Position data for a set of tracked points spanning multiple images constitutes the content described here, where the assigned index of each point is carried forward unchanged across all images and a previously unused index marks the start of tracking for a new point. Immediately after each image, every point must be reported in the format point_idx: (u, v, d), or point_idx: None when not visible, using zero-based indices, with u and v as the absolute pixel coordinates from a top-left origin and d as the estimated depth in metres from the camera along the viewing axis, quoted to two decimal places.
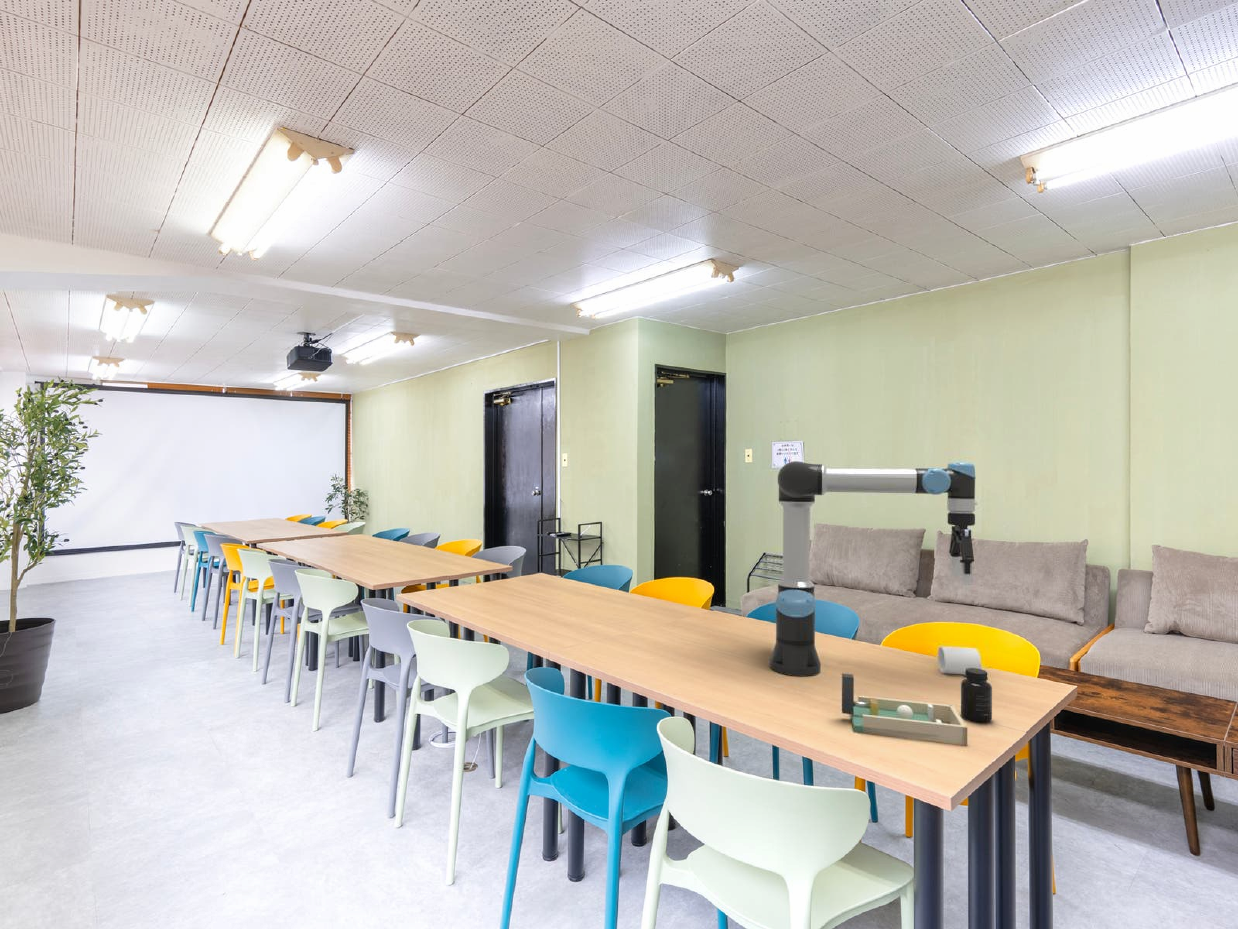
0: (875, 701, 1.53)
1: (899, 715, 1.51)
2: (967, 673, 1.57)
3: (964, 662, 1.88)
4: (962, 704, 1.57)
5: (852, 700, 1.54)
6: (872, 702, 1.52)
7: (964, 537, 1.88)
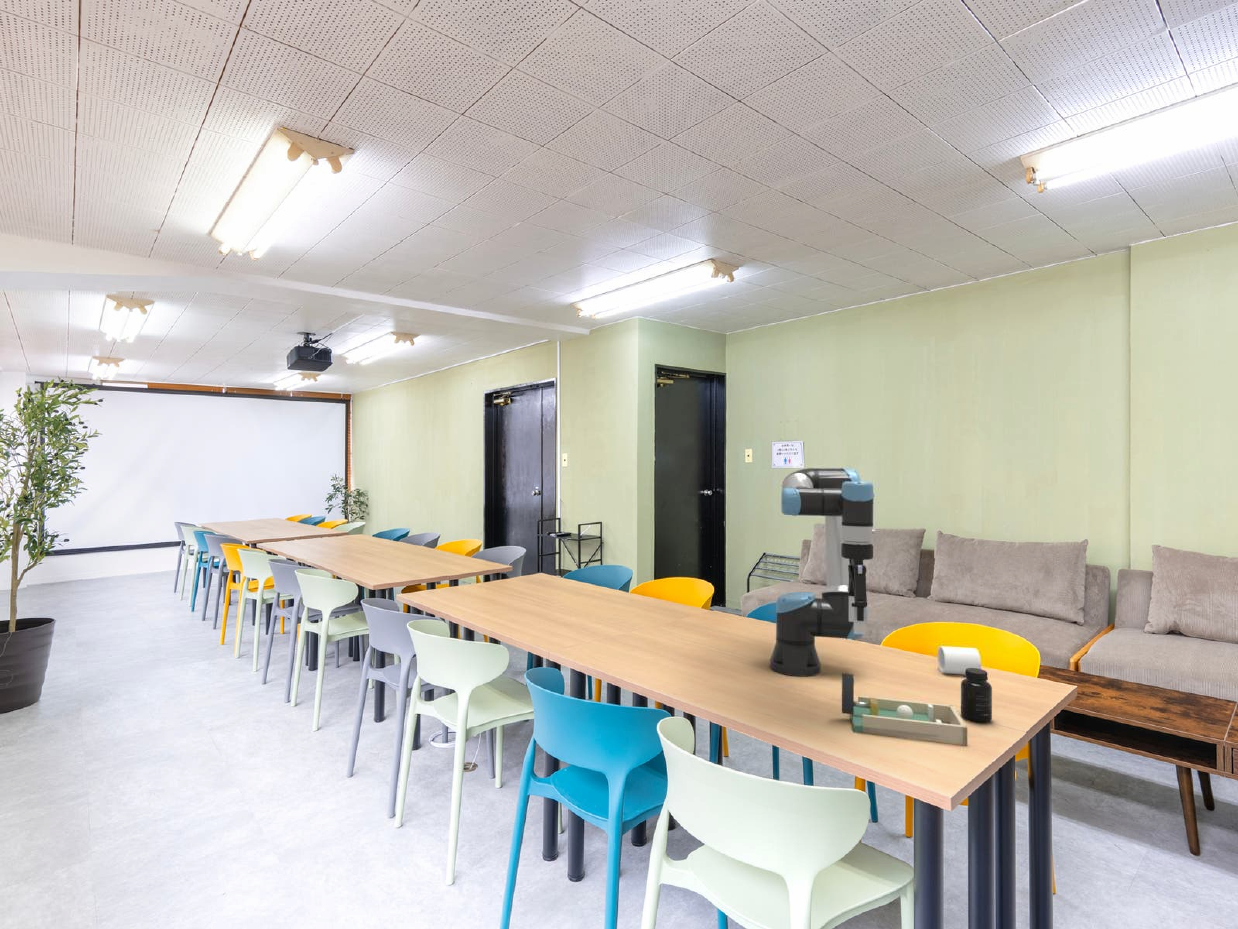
0: (875, 701, 1.53)
1: (899, 715, 1.51)
2: (967, 673, 1.57)
3: (964, 662, 1.88)
4: (962, 704, 1.57)
5: (852, 700, 1.54)
6: (872, 702, 1.52)
7: (857, 575, 1.51)
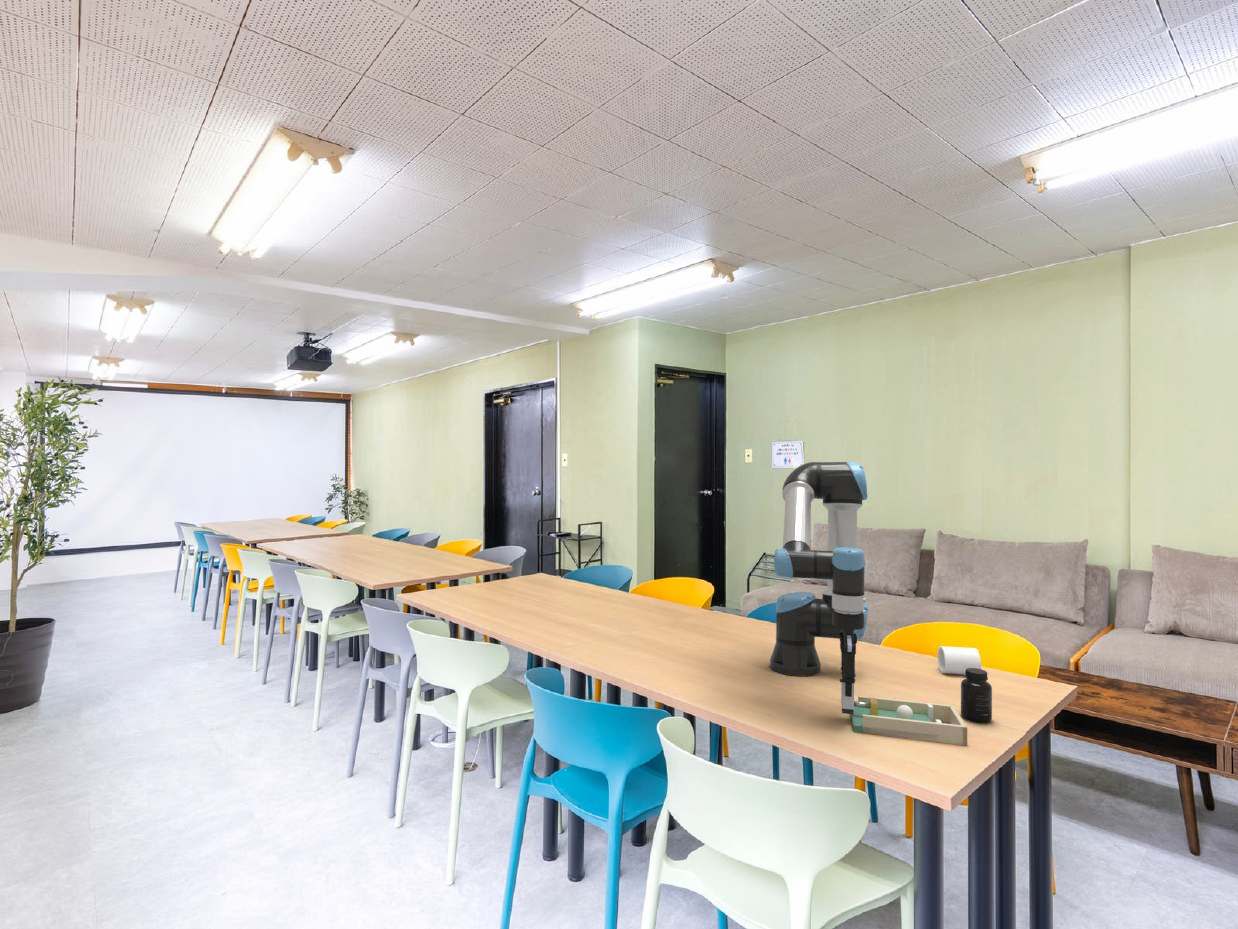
0: (875, 701, 1.53)
1: (899, 715, 1.51)
2: (967, 673, 1.57)
3: (964, 662, 1.88)
4: (962, 704, 1.57)
5: None
6: (872, 702, 1.52)
7: (846, 653, 1.50)
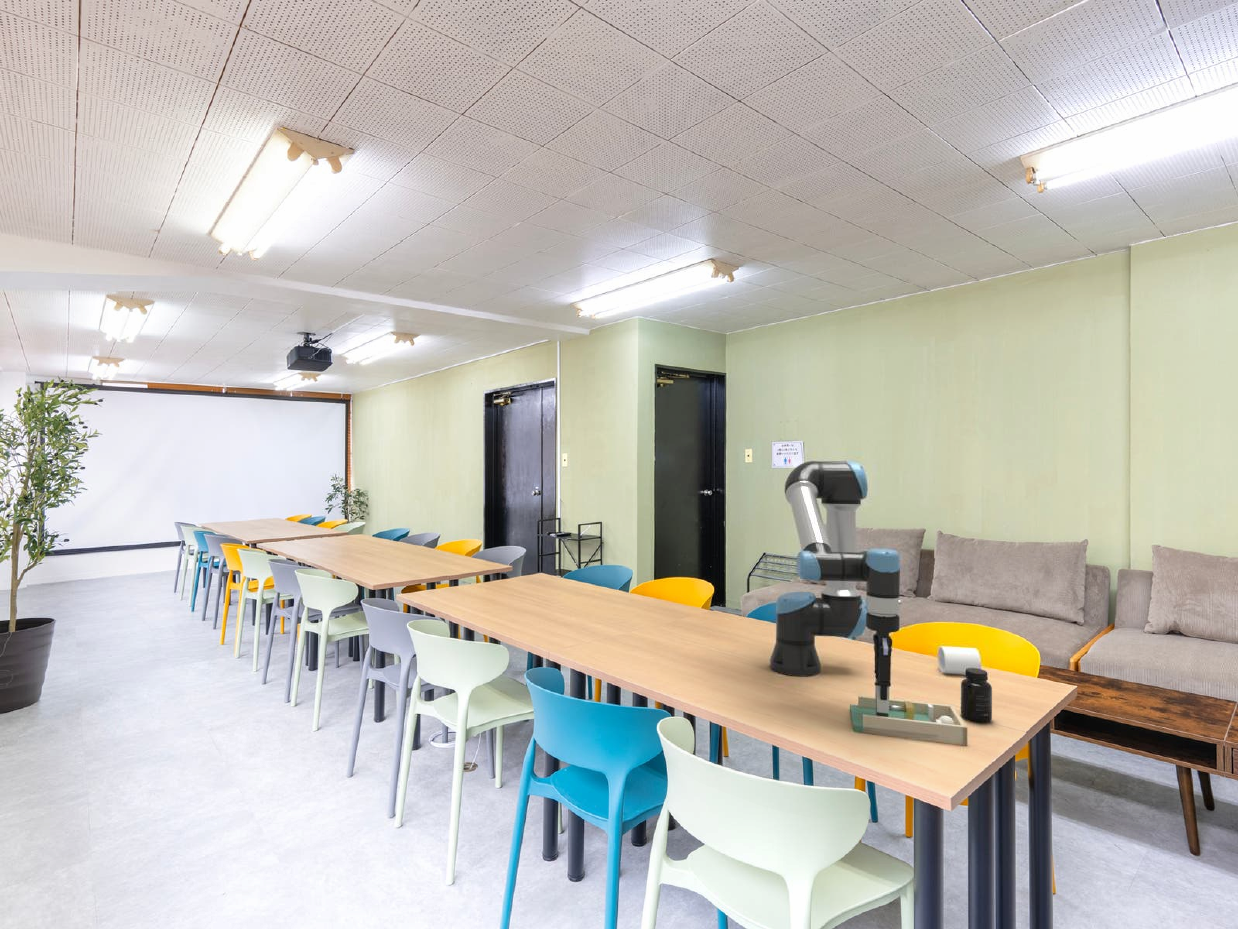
0: (910, 704, 1.51)
1: None
2: (967, 673, 1.57)
3: (964, 662, 1.88)
4: (962, 704, 1.57)
5: None
6: (907, 706, 1.50)
7: (882, 656, 1.48)
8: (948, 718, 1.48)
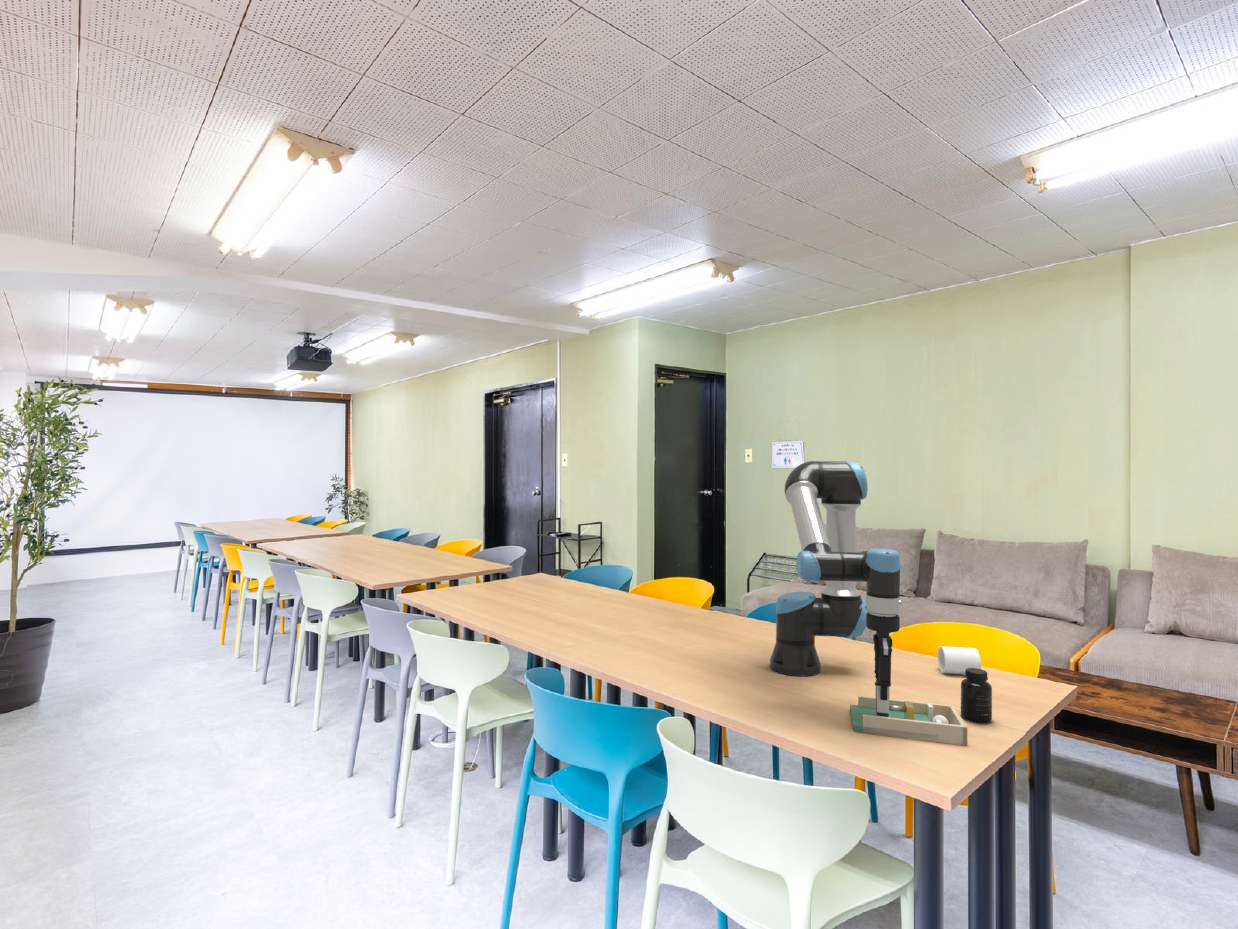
0: (910, 704, 1.51)
1: None
2: (967, 673, 1.57)
3: (964, 662, 1.88)
4: (962, 704, 1.57)
5: None
6: (908, 706, 1.50)
7: (882, 656, 1.48)
8: (937, 717, 1.49)
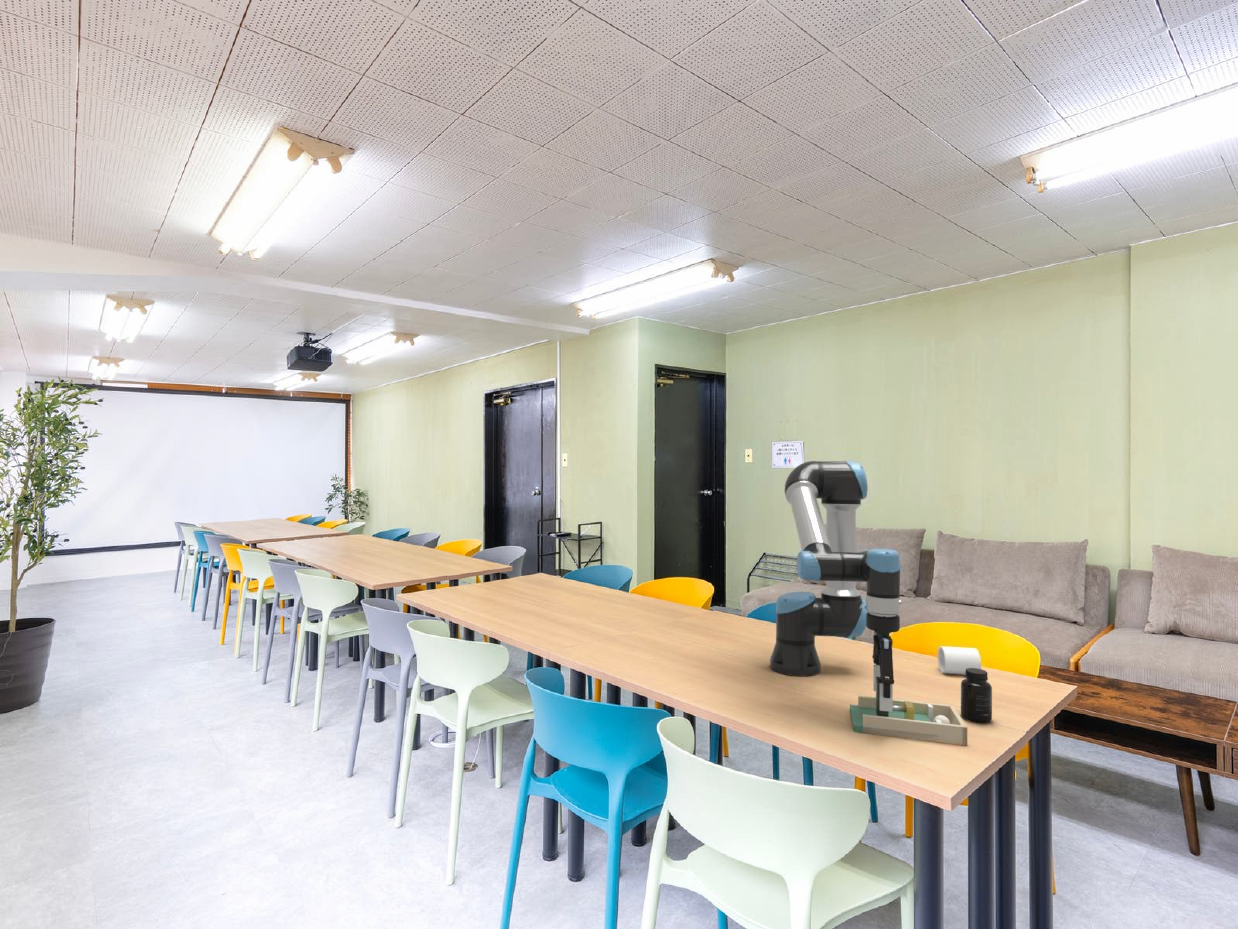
0: (910, 704, 1.51)
1: None
2: (967, 673, 1.57)
3: (964, 662, 1.88)
4: (962, 704, 1.57)
5: None
6: (908, 706, 1.50)
7: (883, 650, 1.46)
8: (940, 717, 1.49)
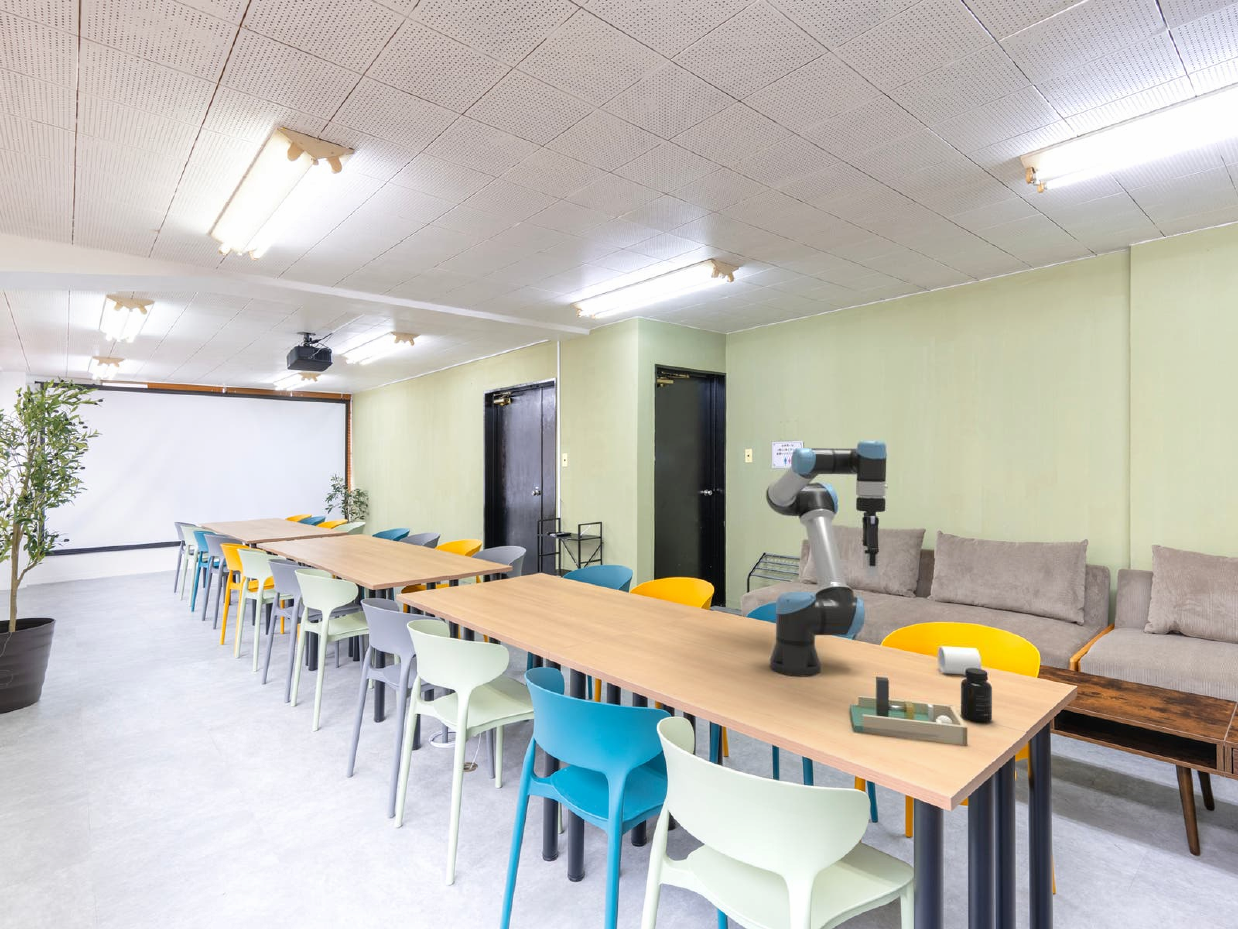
0: (910, 704, 1.51)
1: None
2: (967, 673, 1.57)
3: (964, 662, 1.88)
4: (962, 704, 1.57)
5: (887, 704, 1.51)
6: (908, 706, 1.50)
7: (870, 525, 1.67)
8: (944, 717, 1.48)
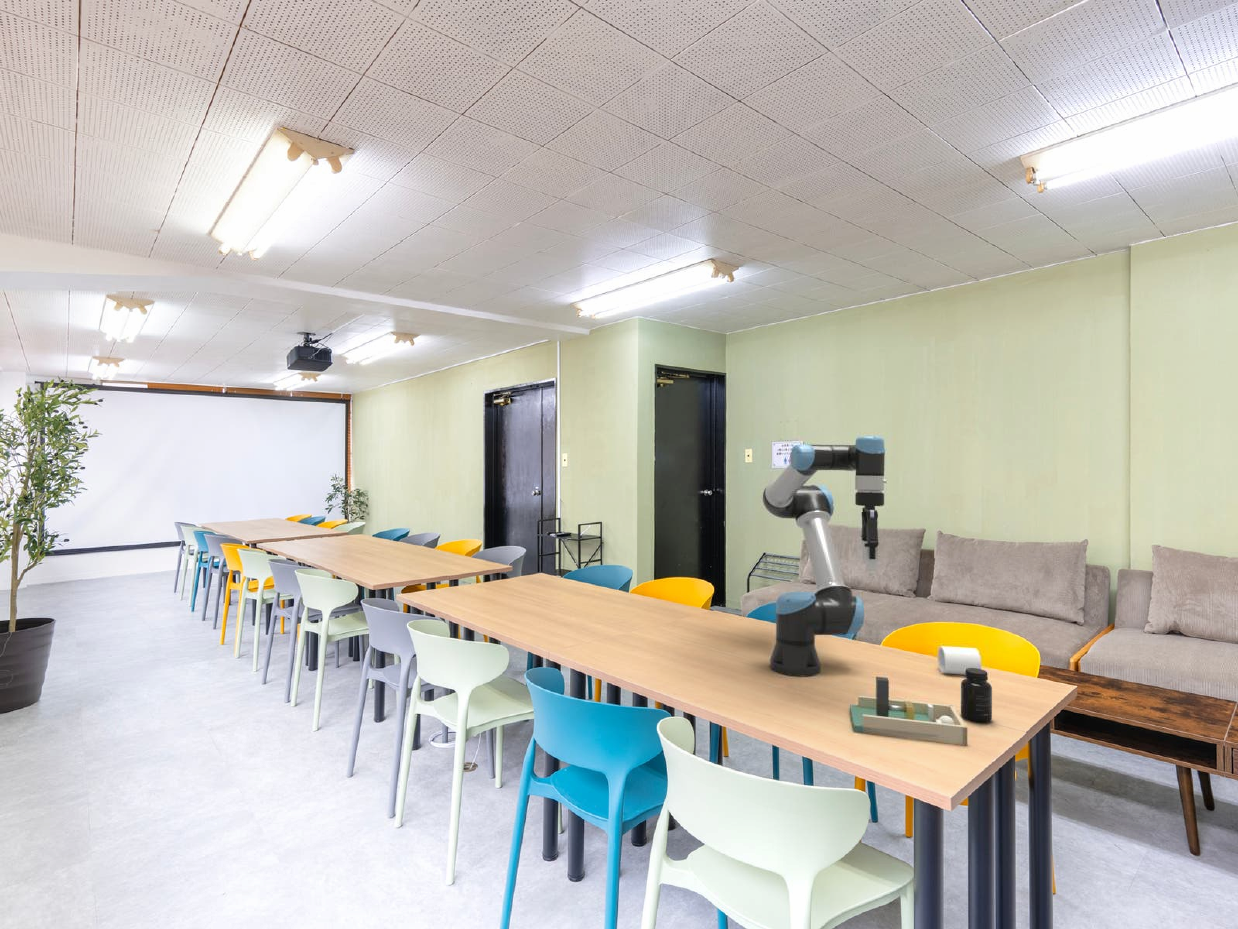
0: (910, 704, 1.51)
1: None
2: (967, 673, 1.57)
3: (964, 662, 1.88)
4: (962, 704, 1.57)
5: (887, 704, 1.51)
6: (908, 706, 1.50)
7: (869, 518, 1.69)
8: (948, 718, 1.48)
